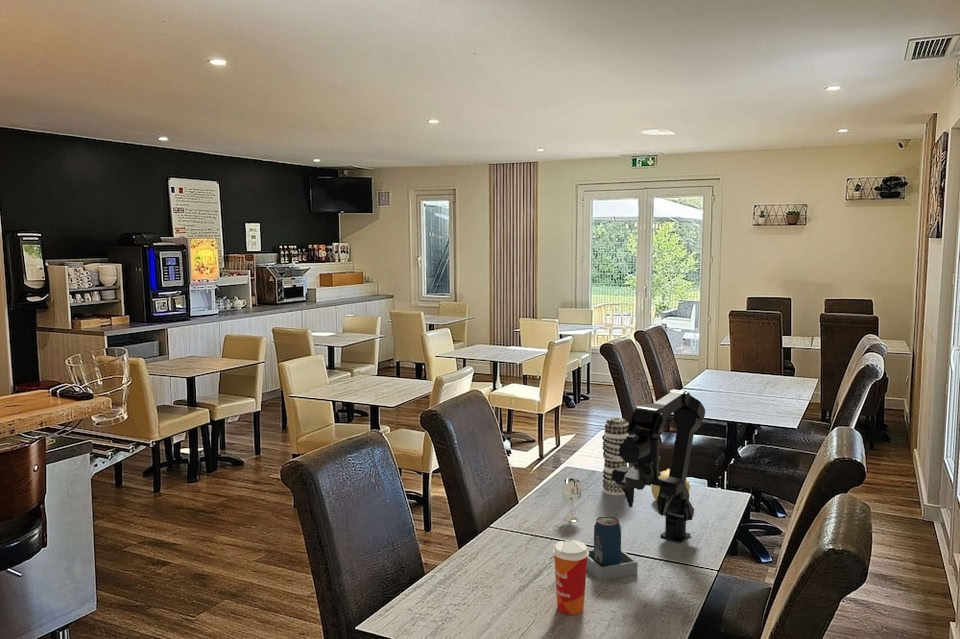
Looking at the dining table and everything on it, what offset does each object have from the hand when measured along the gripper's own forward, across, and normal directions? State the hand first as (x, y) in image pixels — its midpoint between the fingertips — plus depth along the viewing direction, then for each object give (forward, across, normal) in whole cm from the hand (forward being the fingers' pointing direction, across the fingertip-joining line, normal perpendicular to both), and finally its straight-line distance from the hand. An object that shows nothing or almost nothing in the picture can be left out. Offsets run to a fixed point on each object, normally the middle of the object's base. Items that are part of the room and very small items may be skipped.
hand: (646, 511), depth 190 cm
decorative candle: (+13, -32, +40) cm, 53 cm away
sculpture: (+13, -13, +42) cm, 46 cm away
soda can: (+12, -5, -12) cm, 18 cm away
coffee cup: (+13, -1, -35) cm, 37 cm away
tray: (+13, -4, -12) cm, 18 cm away
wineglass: (+13, -30, +10) cm, 34 cm away
